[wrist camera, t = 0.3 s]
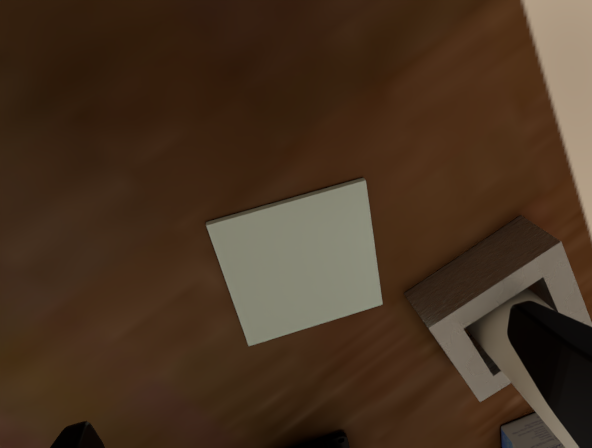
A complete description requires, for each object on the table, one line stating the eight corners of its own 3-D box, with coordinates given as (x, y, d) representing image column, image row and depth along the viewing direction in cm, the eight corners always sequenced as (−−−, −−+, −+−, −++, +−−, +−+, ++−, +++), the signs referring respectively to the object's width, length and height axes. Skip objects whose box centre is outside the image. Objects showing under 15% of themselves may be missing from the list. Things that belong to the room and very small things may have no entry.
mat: (380, 300, 29) (382, 304, 29) (248, 342, 28) (248, 346, 28) (363, 177, 25) (365, 180, 24) (205, 222, 24) (206, 225, 23)
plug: (514, 312, 32) (689, 481, 21) (452, 332, 32) (597, 516, 21) (517, 258, 30) (716, 416, 19) (451, 279, 30) (613, 454, 18)
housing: (453, 365, 34) (480, 402, 31) (403, 293, 29) (428, 328, 26) (556, 299, 33) (594, 330, 30) (521, 215, 28) (561, 241, 25)
